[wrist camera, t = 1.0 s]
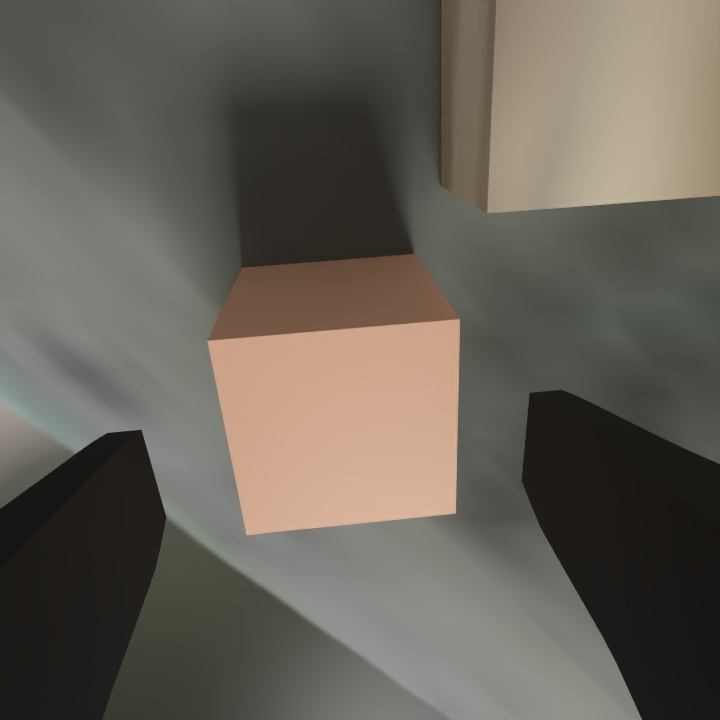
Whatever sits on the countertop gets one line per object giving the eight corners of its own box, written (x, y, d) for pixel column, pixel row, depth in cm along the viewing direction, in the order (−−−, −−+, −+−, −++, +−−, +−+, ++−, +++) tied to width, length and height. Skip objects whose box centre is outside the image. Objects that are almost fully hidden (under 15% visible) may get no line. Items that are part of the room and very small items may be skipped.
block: (413, 253, 14) (459, 318, 10) (416, 401, 16) (455, 513, 12) (242, 267, 14) (207, 341, 9) (265, 415, 16) (246, 534, 11)
